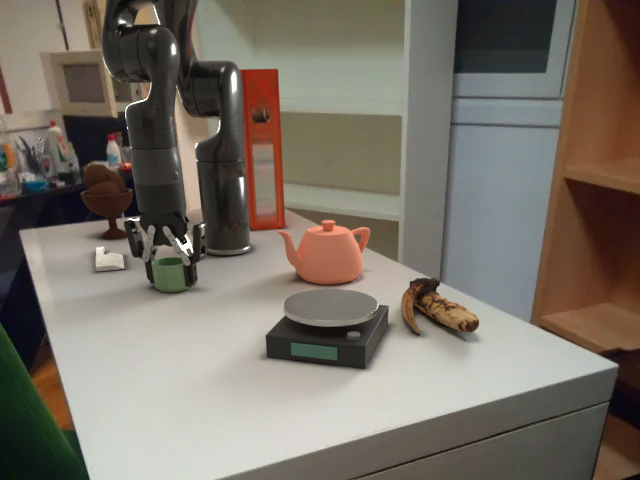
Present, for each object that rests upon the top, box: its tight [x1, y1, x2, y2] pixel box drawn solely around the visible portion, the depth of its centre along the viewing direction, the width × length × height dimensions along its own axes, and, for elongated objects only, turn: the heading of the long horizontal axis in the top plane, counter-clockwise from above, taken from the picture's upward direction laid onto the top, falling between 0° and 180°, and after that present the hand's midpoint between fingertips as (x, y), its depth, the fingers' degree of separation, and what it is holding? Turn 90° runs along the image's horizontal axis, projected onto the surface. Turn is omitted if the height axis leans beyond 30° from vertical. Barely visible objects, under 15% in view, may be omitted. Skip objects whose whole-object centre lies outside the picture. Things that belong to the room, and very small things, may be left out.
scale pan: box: [282, 288, 379, 327], centre depth 78 cm, size 13×13×1 cm
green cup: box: [151, 256, 190, 293], centre depth 100 cm, size 6×6×4 cm
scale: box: [265, 304, 390, 369], centre depth 80 cm, size 15×13×4 cm
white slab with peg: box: [94, 246, 125, 272], centre depth 116 cm, size 5×15×1 cm, turn 17°
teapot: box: [275, 219, 371, 285], centre depth 104 cm, size 12×18×10 cm
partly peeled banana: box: [400, 277, 480, 336], centre depth 86 cm, size 9×5×18 cm
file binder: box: [239, 68, 286, 231], centre depth 137 cm, size 8×17×32 cm, turn 17°
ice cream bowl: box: [79, 163, 134, 240], centre depth 129 cm, size 11×11×15 cm
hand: (172, 284), depth 101 cm, fingers closed on green cup, 6 cm apart
